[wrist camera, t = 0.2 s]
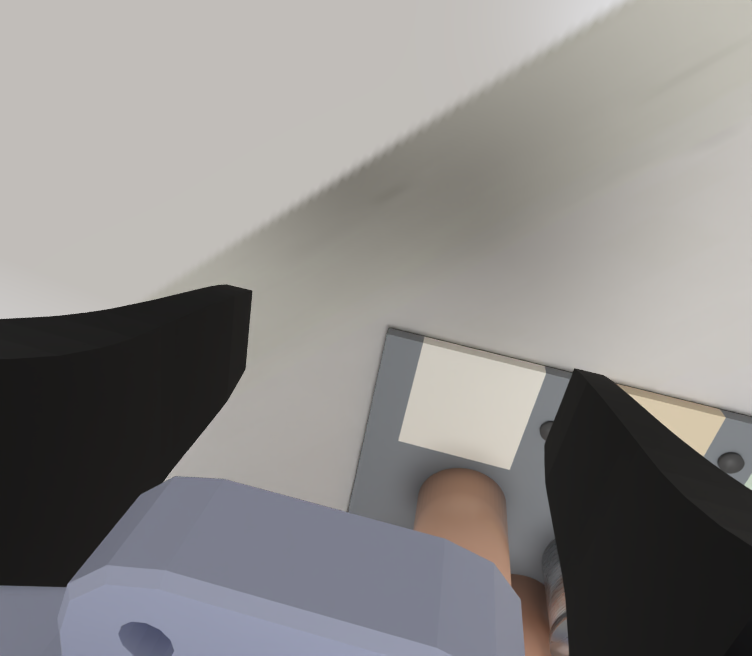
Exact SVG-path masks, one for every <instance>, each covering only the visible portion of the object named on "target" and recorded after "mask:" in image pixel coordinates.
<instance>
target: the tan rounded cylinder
mask: <svg viewBox="0 0 752 656" xmlns="http://www.w3.org/2000/svg"><path fill="white" fill-rule="evenodd" d="M413 530H415V531H419V532H422V533H426V534H430V535H433V536H437V537H441V538H445V539H447V540H449V541H451V542H453V543H455V544H457V545H459V546H461V547H463V548H465V549H467V550H469V551H471V552H473V553H475V554H477V555H479V556H481V557H483V558H485V559H487V560H489V561H491V562H493V563H494V564H495V565H496V567H497V568H498V569H499V571H500V572H501V573H502V575H503V576H504V578H505V579H506V580H507V582H508V583H509V584H510V586H511V572H510V556H509V540H508V525H507V509H506V499H505V496H504V493H503V491H502V490H501V488H500V487H499V485H498V484H497V483H496V482H495V481H494V480H492V479H491V478H490V477H488V476H486V475H485V474H483V473H480V472H478V471H475V470H471V469H466V468H451V469H445V470H442V471H439V472H437V473H435V474H433V475H432V476H430V477H429V478H428V479H427V480H426V481H425V482H424V483H423V484H422V486H421V488H420V490H419V494H418V500H417V507H416V514H415V521H414V528H413Z"/></svg>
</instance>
